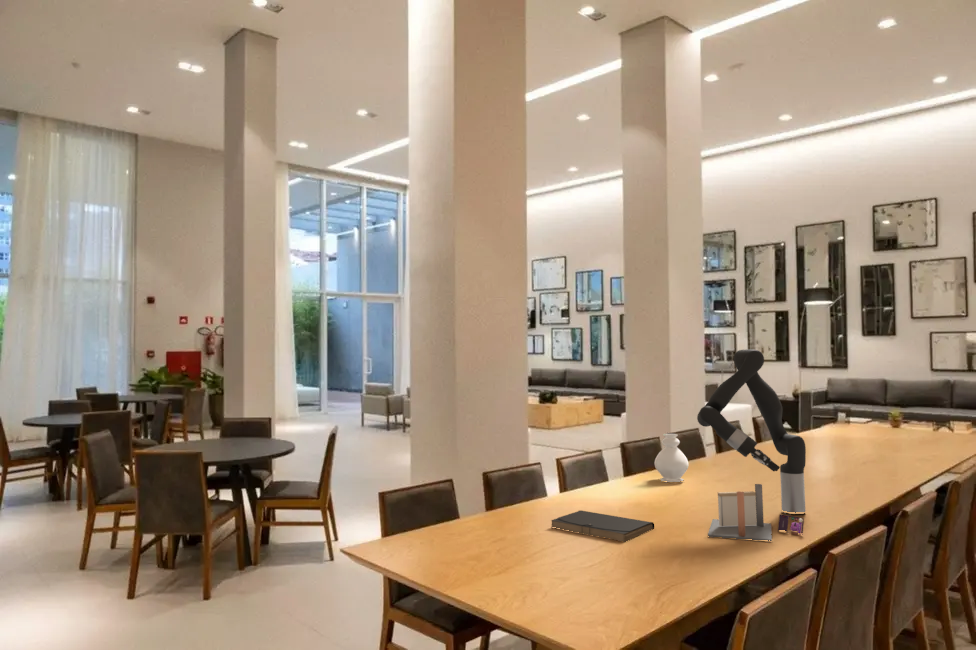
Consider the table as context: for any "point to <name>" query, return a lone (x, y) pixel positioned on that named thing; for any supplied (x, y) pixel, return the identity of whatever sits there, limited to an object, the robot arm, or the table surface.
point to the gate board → (734, 531)
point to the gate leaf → (736, 508)
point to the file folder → (603, 525)
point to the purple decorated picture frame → (794, 526)
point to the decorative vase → (671, 460)
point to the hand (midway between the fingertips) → (777, 469)
